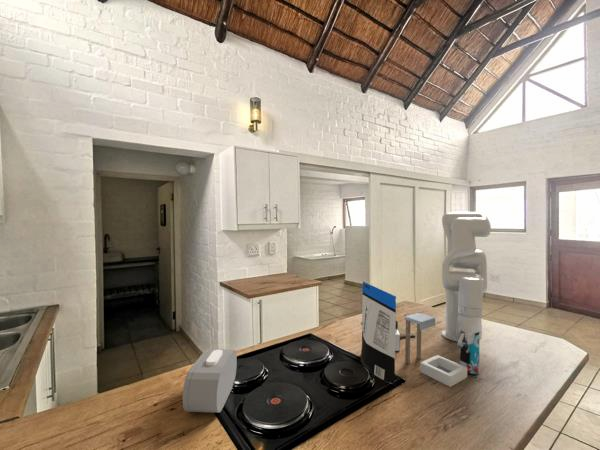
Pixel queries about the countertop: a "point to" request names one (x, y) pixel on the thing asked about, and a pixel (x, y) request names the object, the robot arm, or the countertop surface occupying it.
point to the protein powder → (378, 332)
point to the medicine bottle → (397, 338)
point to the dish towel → (403, 333)
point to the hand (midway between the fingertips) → (469, 359)
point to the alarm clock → (210, 381)
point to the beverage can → (473, 357)
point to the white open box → (436, 365)
